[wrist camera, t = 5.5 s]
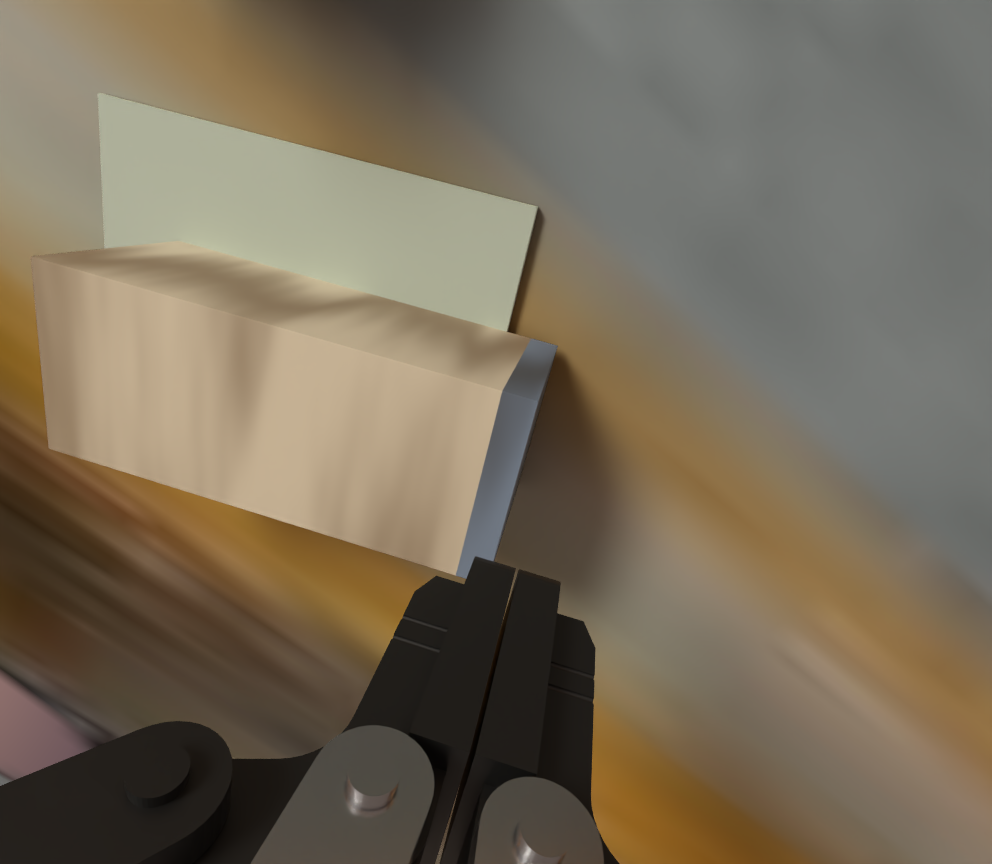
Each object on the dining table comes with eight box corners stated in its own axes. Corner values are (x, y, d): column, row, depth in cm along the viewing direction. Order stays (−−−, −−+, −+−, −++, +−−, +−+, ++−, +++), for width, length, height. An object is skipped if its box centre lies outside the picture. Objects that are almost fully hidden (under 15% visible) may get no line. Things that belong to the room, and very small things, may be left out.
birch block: (516, 491, 19) (177, 390, 20) (557, 345, 17) (178, 240, 18) (486, 585, 14) (48, 448, 15) (538, 401, 12) (30, 256, 13)
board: (120, 455, 22) (113, 458, 21) (106, 94, 17) (97, 92, 17) (452, 558, 21) (450, 562, 20) (538, 206, 16) (537, 207, 16)
